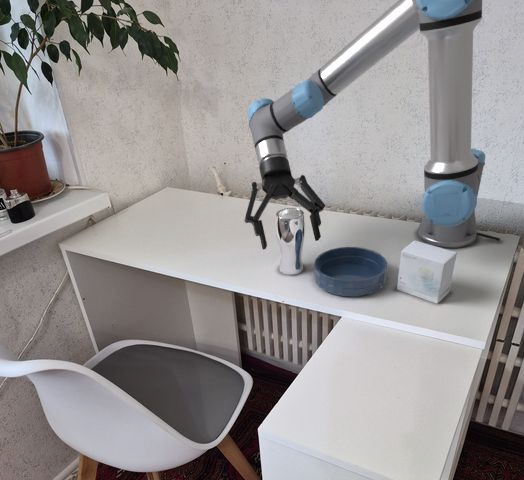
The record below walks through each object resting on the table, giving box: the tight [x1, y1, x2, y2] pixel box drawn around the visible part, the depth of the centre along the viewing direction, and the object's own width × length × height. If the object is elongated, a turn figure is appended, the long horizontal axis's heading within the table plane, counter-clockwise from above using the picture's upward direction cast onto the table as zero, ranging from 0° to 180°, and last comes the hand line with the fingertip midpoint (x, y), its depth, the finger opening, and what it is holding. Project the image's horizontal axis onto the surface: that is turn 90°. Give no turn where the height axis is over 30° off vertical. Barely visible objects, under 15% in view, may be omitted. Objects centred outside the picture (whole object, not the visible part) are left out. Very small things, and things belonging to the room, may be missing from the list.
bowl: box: [313, 246, 388, 297], centre depth 123 cm, size 17×17×4 cm
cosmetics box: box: [396, 240, 458, 304], centre depth 115 cm, size 10×6×10 cm, turn 48°
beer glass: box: [275, 207, 306, 276], centre depth 126 cm, size 7×7×15 cm
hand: (291, 243), depth 124 cm, fingers open, 13 cm apart
